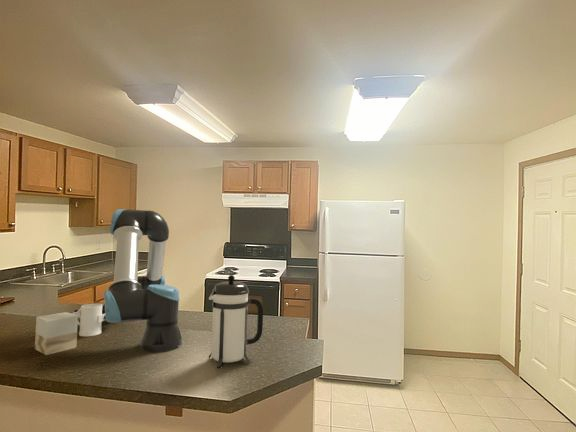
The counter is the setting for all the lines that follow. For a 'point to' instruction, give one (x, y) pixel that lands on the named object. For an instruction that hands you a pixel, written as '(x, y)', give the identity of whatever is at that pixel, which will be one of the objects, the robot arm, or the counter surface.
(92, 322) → the mug
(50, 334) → the tower top
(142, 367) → the counter surface
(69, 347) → the block
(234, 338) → the coffee press
